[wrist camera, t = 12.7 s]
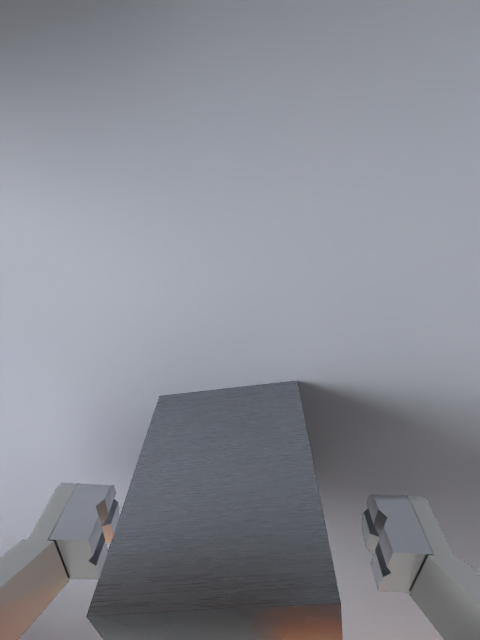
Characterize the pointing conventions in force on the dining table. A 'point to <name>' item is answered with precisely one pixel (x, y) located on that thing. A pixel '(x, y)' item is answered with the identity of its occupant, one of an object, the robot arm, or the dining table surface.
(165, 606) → the block
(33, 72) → the dining table surface
